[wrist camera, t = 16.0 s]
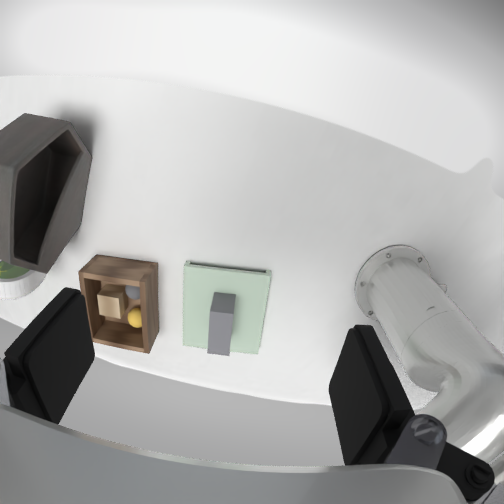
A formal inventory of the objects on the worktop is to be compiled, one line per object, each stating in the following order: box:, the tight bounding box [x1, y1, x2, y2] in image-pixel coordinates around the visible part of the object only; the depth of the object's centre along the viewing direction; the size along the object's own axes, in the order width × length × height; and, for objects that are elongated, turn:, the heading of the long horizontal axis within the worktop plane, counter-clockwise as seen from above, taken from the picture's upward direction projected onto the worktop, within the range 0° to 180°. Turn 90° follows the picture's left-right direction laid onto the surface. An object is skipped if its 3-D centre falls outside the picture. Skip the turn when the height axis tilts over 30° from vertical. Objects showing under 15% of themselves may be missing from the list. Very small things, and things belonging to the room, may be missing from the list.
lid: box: [183, 261, 271, 356], centre depth 45 cm, size 12×14×7 cm
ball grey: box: [125, 285, 140, 300], centre depth 44 cm, size 3×3×3 cm
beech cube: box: [97, 284, 128, 319], centre depth 45 cm, size 4×4×4 cm
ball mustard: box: [128, 308, 142, 328], centre depth 46 cm, size 3×3×3 cm
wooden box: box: [78, 255, 159, 354], centre depth 44 cm, size 10×12×6 cm
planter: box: [0, 113, 92, 274], centre depth 32 cm, size 17×8×21 cm
